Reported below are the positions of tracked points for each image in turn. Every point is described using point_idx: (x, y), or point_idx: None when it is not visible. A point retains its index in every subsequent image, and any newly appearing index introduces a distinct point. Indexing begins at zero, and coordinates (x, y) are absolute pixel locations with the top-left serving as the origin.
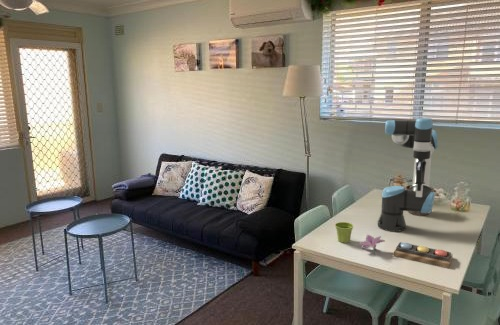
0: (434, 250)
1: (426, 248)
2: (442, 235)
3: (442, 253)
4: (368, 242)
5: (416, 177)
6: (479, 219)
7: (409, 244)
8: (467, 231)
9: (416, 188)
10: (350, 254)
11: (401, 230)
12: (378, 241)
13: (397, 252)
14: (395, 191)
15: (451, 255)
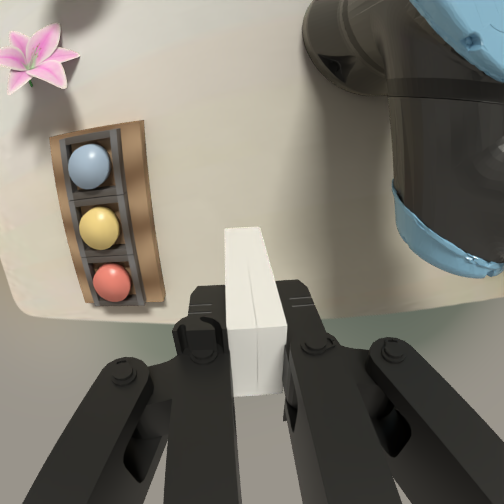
0: (121, 261)
1: (103, 240)
2: (357, 234)
3: (102, 290)
4: (17, 54)
5: (45, 478)
6: (497, 294)
7: (98, 176)
8: (417, 290)
9: (226, 283)
10: (5, 31)
11: (332, 82)
12: (47, 71)
13: (53, 149)
14: (437, 2)
15: (147, 300)
